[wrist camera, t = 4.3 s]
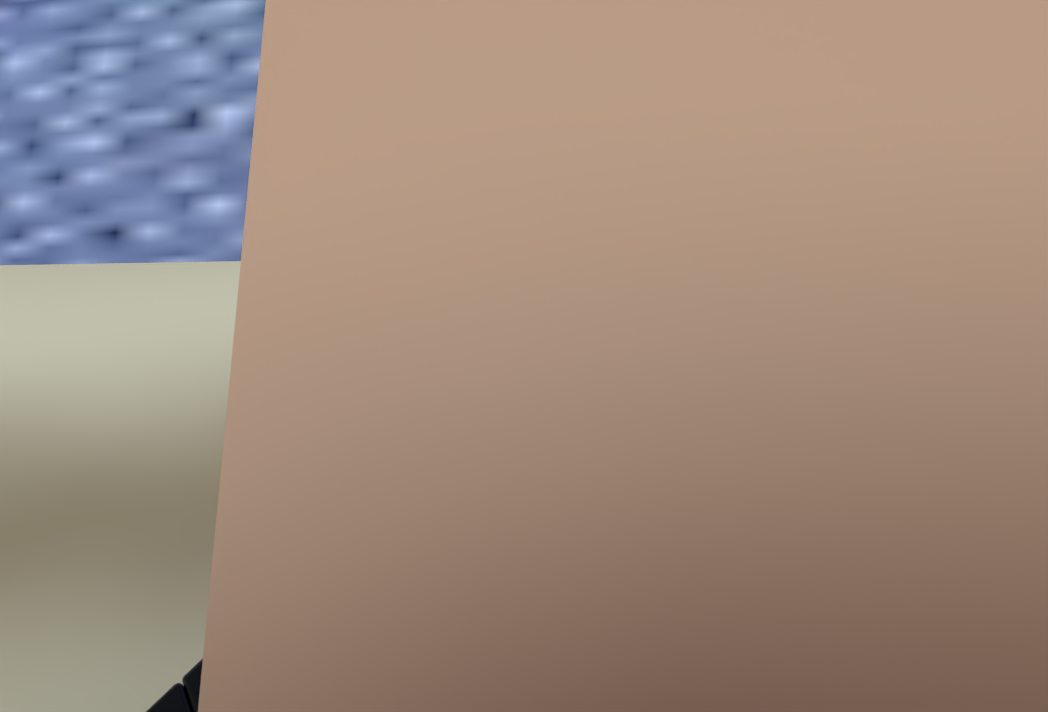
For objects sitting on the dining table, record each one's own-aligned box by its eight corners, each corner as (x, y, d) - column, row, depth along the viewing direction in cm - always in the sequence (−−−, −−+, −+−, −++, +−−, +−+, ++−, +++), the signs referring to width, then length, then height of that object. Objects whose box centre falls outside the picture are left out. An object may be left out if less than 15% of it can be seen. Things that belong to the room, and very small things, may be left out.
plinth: (296, 857, 15) (225, 919, 12) (-237, 844, 15) (-431, 900, 12) (331, 319, 17) (280, 259, 14) (-130, 325, 18) (-270, 269, 15)
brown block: (816, 744, 15) (1914, 1392, 2) (503, 739, 15) (141, 1287, 3) (793, 434, 16) (1438, -116, 4) (507, 435, 16) (272, -65, 4)
